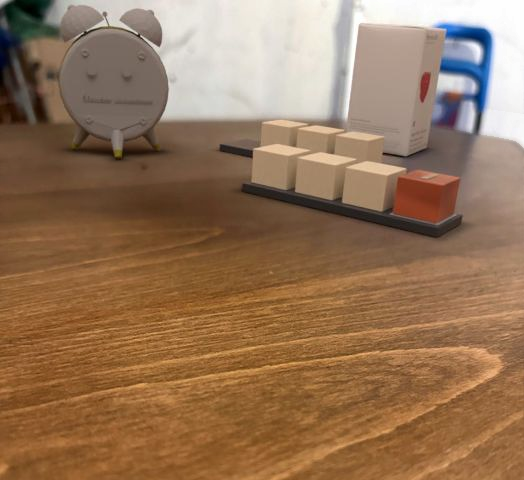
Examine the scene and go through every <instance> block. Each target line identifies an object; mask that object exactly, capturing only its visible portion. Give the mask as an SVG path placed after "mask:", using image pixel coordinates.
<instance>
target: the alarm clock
mask: <svg viewBox="0 0 524 480" xmlns="http://www.w3.org/2000/svg"><path fill="white" fill-rule="evenodd" d="M107 17H108V12H107V11H105V10H104V11H103V12H102V14H101V13H100V11H98V10H97V9H95V8H94V7H92V6H90V5H86V4H77V5H74V4H69V5H68V6H67V10H66V11H65V13H64V14H63V15H62V18H61V21H60V26H59V29H60V36H61V38H62V40H63V42H64V43H67V42H69V41H70V40H73V39H74V41H72V43H71V44H70V45H69V47H68V48H67V50H66V51H65V53H64V55H63V58H62V60H61V61H60V67H59V72H58V89H59V95H60V99H61V101H62V103H63V106H64V109H65V110H66V112H67V113H68V116H69V117H70V118H71V119H72V121H73V122H74V123H75V124H76V125H77V128H76V131H75V134H74V137H73V140H72V144H71V146H70V147H71V148H72V149H73V150H74V151H77V150H78V149H79V148H80V147H81V146H82V145H83V143H84V142H85V141H86V139H87V138H88V137H89V136H92V137H94V138H96V139H99V140H102V141H105V142H111V147H112V151H113V156H114V158H115V159H116V160H121V159H122V156H123V148H124V143H127V142H130V141H134V140H137V139H139V138H142V137H143V139H145V140H146V142H147V143H148V144H149V145H150V146H151V148H152V149H153V150H154V151H155V152H159V151H160V150H161V145H160V143H159V140H158V137H157V135H156V132H155V129H154V128H155V126H156V125H157V124H158V123H159V122H160V120H161V119H162V117H163V115H164V113H165V111H166V107H167V103H168V100H169V91H170V88H169V78H168V75H167V71H166V67H165V65H164V63H163V61H162V59H161V57H160V55H159V54H158V53H157V51H156V50H155V49H154V47H153V46H152V45H150V44H149V42H150V43H152V44H154V45H155V46H157V47H158V48H160V47H161V45H162V43H163V28H162V25H161V23H160V21H159V19H158V18H157V17H156V16H155V12H154V11H153V10H152V9H143V8H132V9H130V10H128V11H125V12H124V13H123V14H122V15H121V16H120V18H119V22H121V23H122V24H124V25H125V26H126V27H128V28H129V29H131V30H132V31H131V30H129V29H127V28H125V27H120V26H113V25H110V23H109V20H108V18H107ZM104 20H105V21H106V24H107V26H105V25H104V26H98V27H95V26H97V25H98V24H100V23H101V22H103V21H104ZM93 27H95V28H93ZM75 38H76V39H75ZM145 39H146V40H145ZM148 41H149V42H148Z"/></svg>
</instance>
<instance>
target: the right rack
mask: <svg viewBox="0 0 524 480" xmlns="http://www.w3.org/2000/svg"><path fill="white" fill-rule="evenodd" d="M356 162H357V159H354V158H349V157H343V156H338V155H333V154H327V153H322V152H319V153H315V154H311V150H306V149H301V148H296V147H291V146H285V145H280V144H274V145H269V146H264V147H259V148H254V149H253V157H252V163H251V165H252V167H251V180H248V181H245V182H242V184H241V192H245V193H248V194H253V195H256V196H261V197H265V198H270V199H273V200H278V201H282V202H286V203H290V204H294V205H299V206H302V207H307V208H311V209H316V210H319V211H324V212H327V213H328V212H329V213H332V214H337V215H339V216H340V215H341V216H346V217H349V218H353V219H357V220H362V221H366V222H370V223H374V224H378V225H383V226H386V227H391V228H395V229H400V230H403V231H408V232H412V233H417V234H419V235H425V236H429V237H433V238H438V237H440V236H442V235H443V234H445V233H447V232H449V231H450V230H451V231H452V230H453V229H454V228H456V227H457V226H459V225H461V224H462V221H463V216H464V215H463V214H461V213H456V212H454V214H453V215H451V216H449V217H447V218H445V219H444V220H442V221H440V222H438V223H431V222H427V221H423V220H418V219H414V218H409V217H405V216H401V215H396V214H393V207H394V200H395V194H396V187H397V180H398V176H401V175H404V174H407V169H408V168H406V167H401V166H396V165H390V164H386V163H381V164H380V163H375V162H370V161H366V162H362V163H359V164H356Z"/></svg>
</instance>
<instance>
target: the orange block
mask: <svg viewBox="0 0 524 480" xmlns="http://www.w3.org/2000/svg"><path fill="white" fill-rule="evenodd" d="M460 183H461V177H459V176H453V175H448V174H443V173H439V172H438V173H437V172H433V171H427V170H421V169H415V170H412V171H409V172H406V174H404V175H401V176H398V180H397V187H396V194H395V200H394V207H393V214H396V215H401V216H405V217H409V218H414V219H418V220H423V221H427V222H431V223H438V222H440V221H442V220H444V219H445V218H447V217H449V216H451V215H453V214H454V213H455V209H456V204H457V198H458V194H459V189H460Z"/></svg>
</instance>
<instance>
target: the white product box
mask: <svg viewBox="0 0 524 480" xmlns="http://www.w3.org/2000/svg"><path fill="white" fill-rule="evenodd" d="M446 36H447V29H446V28H440V27H434V26H433V27H431V26H424V25H423V26H422V25H409V24H408V25H407V24H394V23H393V24H392V23H375V22H374V23H373V22H372V23H369V22H366V23H365V22H360V23H359V24H358V27H357V36H356V43H355V51H354V62H353V69H352V77H351V86H350V92H349V101H348V102H349V103H348V111H347V119H346V127H345V133H348V132H353V131H354V132H360V133H366V134H372V135H378V136H384V137H385V139H384V146H383V153H382V154H389V155H394V156H400V157H408V156H411V155H413V154H415V153H417V152H420V151H422V150H425V149H427V147H428V142H429V135H430V131H431V130H430V129H431V124H432V118H433V113H434V106H435V102H436V101H435V100H436V95H437V88H438V82H439V76H440V70H441V65H442V57H443V52H444V48H445V42H446Z"/></svg>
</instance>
